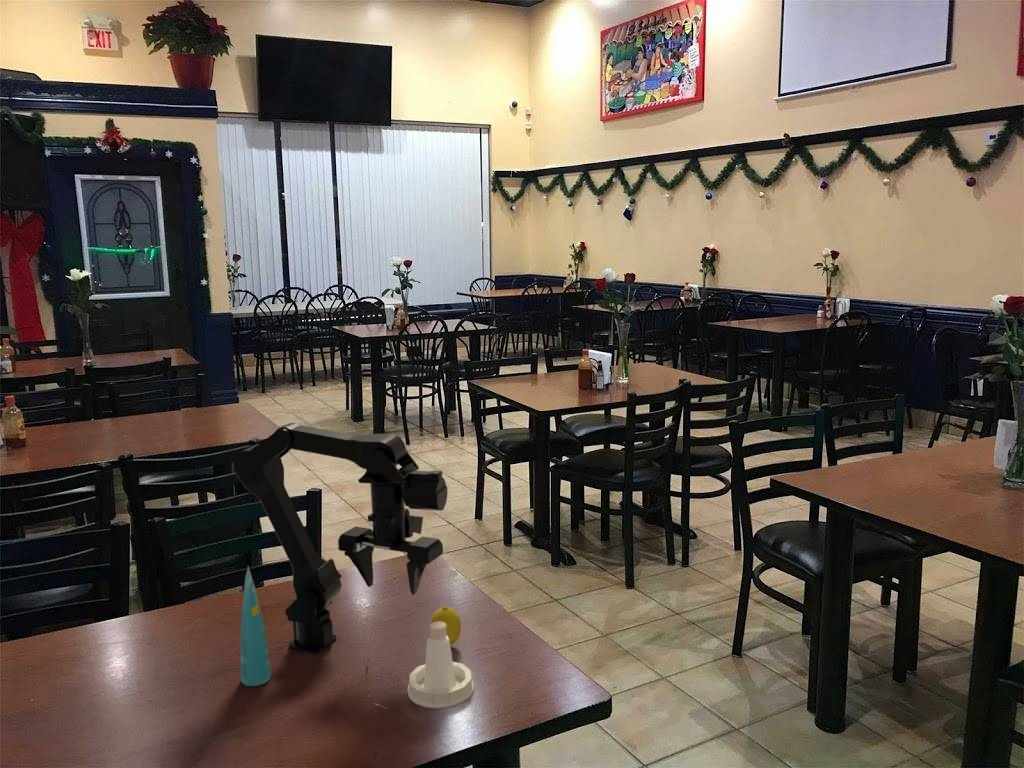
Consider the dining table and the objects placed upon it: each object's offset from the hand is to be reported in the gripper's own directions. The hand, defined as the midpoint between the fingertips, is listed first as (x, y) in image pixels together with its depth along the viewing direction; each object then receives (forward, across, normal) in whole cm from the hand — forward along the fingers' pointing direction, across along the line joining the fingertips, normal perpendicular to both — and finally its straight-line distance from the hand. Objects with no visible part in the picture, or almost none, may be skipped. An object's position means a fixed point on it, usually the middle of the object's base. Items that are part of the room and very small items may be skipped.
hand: (391, 589), depth 145 cm
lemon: (+12, -8, -5) cm, 15 cm away
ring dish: (+12, -14, +8) cm, 20 cm away
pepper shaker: (+12, -14, +8) cm, 20 cm away
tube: (+12, +17, +17) cm, 27 cm away
